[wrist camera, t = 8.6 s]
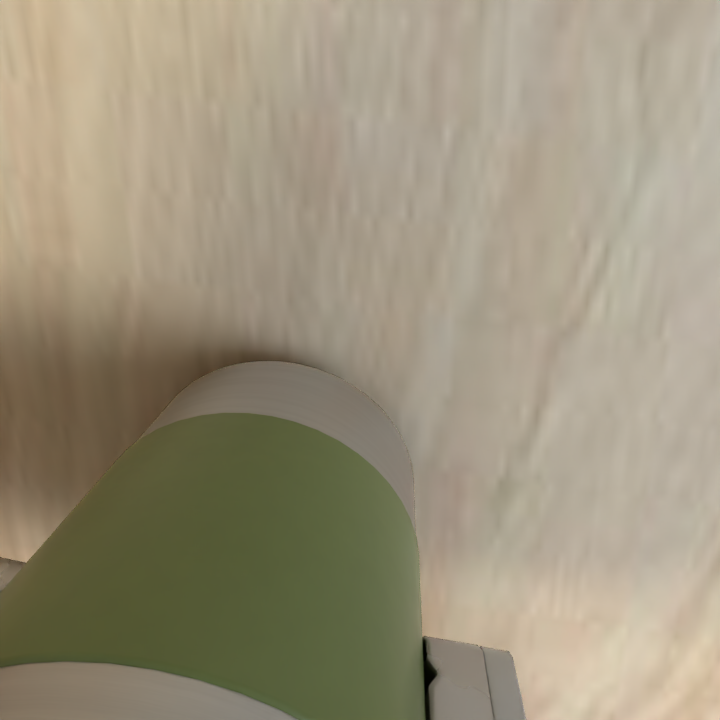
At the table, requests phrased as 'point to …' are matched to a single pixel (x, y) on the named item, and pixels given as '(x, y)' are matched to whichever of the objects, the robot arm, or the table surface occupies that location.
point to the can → (230, 567)
